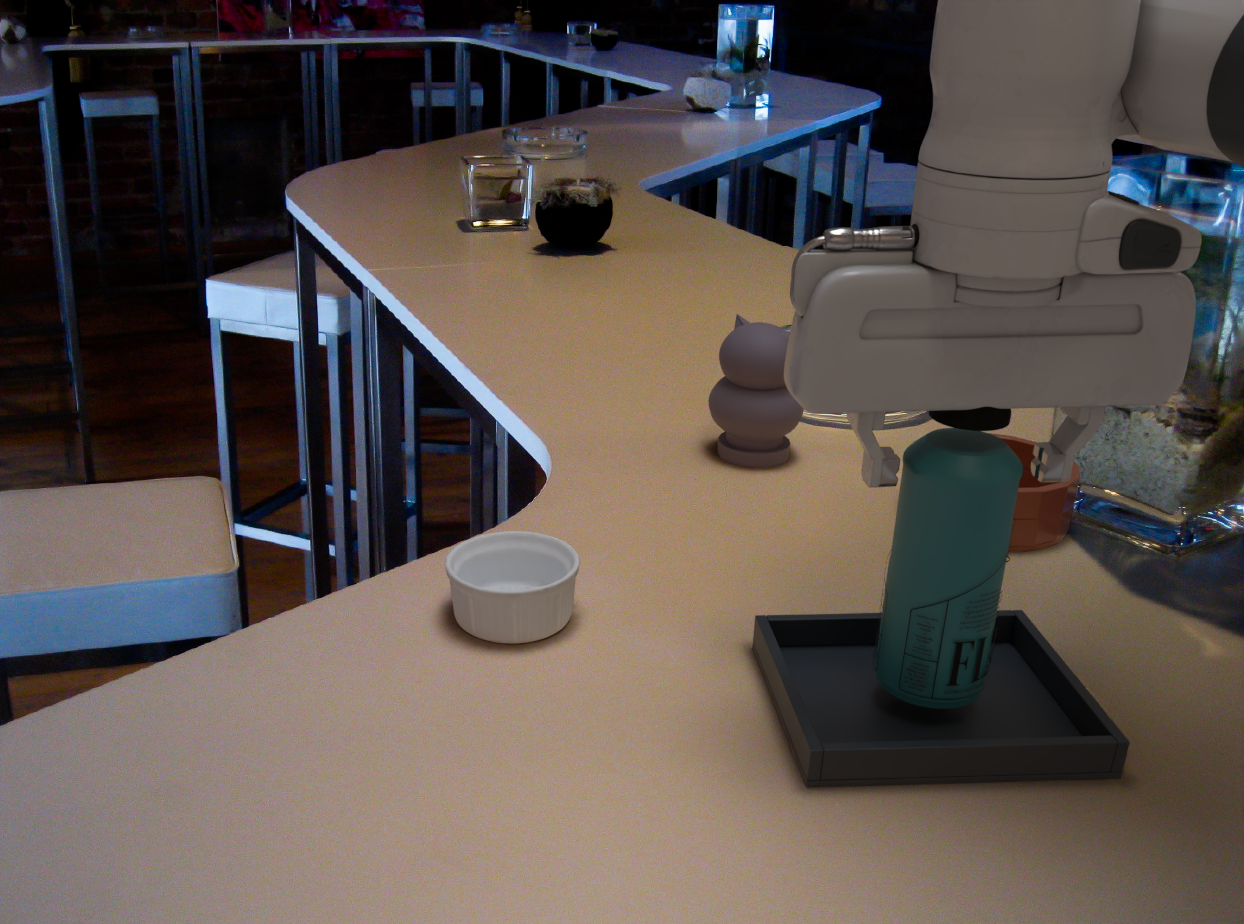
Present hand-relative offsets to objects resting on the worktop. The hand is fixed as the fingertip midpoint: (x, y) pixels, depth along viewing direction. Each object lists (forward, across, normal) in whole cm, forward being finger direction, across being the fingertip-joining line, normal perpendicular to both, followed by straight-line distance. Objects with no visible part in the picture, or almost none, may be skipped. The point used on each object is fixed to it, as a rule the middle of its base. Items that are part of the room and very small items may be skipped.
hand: (964, 481), depth 66 cm
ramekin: (+15, -24, +12) cm, 31 cm away
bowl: (+15, +14, +26) cm, 33 cm away
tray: (+15, 0, 0) cm, 15 cm away
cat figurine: (+15, -2, +40) cm, 43 cm away
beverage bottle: (+14, 0, 0) cm, 15 cm away
